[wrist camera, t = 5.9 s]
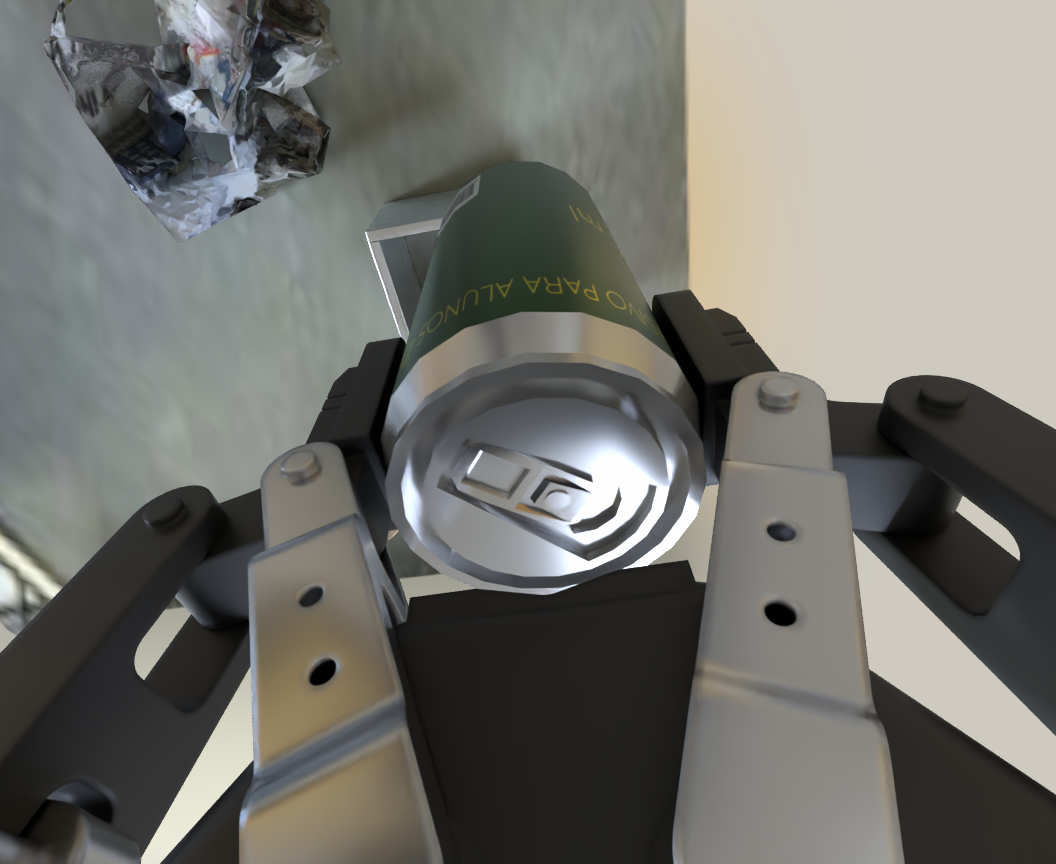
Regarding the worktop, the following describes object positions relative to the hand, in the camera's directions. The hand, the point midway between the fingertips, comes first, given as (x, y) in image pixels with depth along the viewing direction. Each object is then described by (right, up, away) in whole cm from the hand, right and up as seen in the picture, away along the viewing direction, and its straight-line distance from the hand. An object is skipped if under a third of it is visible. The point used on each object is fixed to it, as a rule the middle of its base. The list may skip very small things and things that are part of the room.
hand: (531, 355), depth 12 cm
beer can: (0, +5, +6) cm, 8 cm away
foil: (-16, +18, +17) cm, 30 cm away
